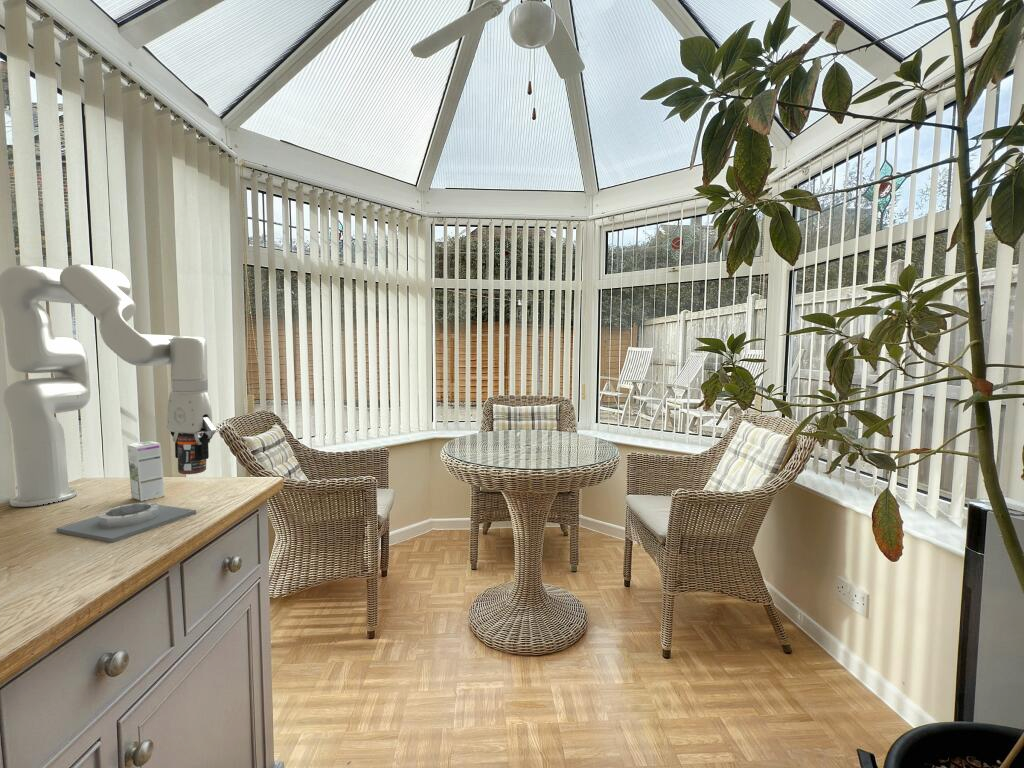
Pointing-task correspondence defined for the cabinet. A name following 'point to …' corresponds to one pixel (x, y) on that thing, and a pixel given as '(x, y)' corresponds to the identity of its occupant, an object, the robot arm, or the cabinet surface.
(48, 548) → the cabinet surface
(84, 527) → the rubber mat
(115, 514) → the ring collar
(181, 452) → the supplement bottle
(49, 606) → the cabinet surface
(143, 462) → the syrup box
